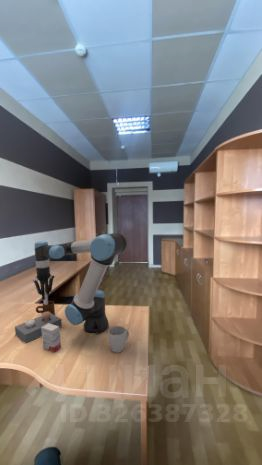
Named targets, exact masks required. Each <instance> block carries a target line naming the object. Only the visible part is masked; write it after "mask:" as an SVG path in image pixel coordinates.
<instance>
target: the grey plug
mask: <svg viewBox="0 0 262 465" xmlns="http://www.w3.org/2000/svg"><path fill="white" fill-rule="evenodd" d="M34 319H35V318H30V319H27V320H25V322H24V323H25V324H26V327H27V328H28V329H29V328H32V327H33V326H34V325H35V320H34Z"/></svg>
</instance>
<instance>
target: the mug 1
mask: <svg viewBox="0 0 262 465" xmlns="http://www.w3.org/2000/svg"><path fill="white" fill-rule="evenodd" d="M47 311H48V312H50V313H51V314H53V315H55V316H56V314H55V313H56V312H55V311H56V310H55V302H54V301H51V300H48V304H47V305H45V304H44V302H43V303H42V305H38V306H36V308H35V312H36V313H37V314H42V313H43V312H47Z"/></svg>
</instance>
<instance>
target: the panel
mask: <svg viewBox="0 0 262 465" xmlns="http://www.w3.org/2000/svg"><path fill="white" fill-rule="evenodd" d="M50 314H51V313H50ZM33 319H34V320H35V325H34V326H33V327H32V328H29V329H28V328H27V327H26V324H25V322H23V323H21V324H17V325H15V326H14V332H15V336H17V337H18V338H19V339H20V340H21V341H22V342H24V344H28V343H30V342H32V341H34V340H37V339H38V338H41V337H42V331H41V327H42V326H44V325H46V324H48V323H50V324H53V325H56V326H59V329H60V328H62V326H63V324H62V318H60V317H58V316H56V314H55V315H53V314H51V317H50V318H49V320H48V321H46V322H44V319H42V315H41V316H39V317H36V318H33Z"/></svg>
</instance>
